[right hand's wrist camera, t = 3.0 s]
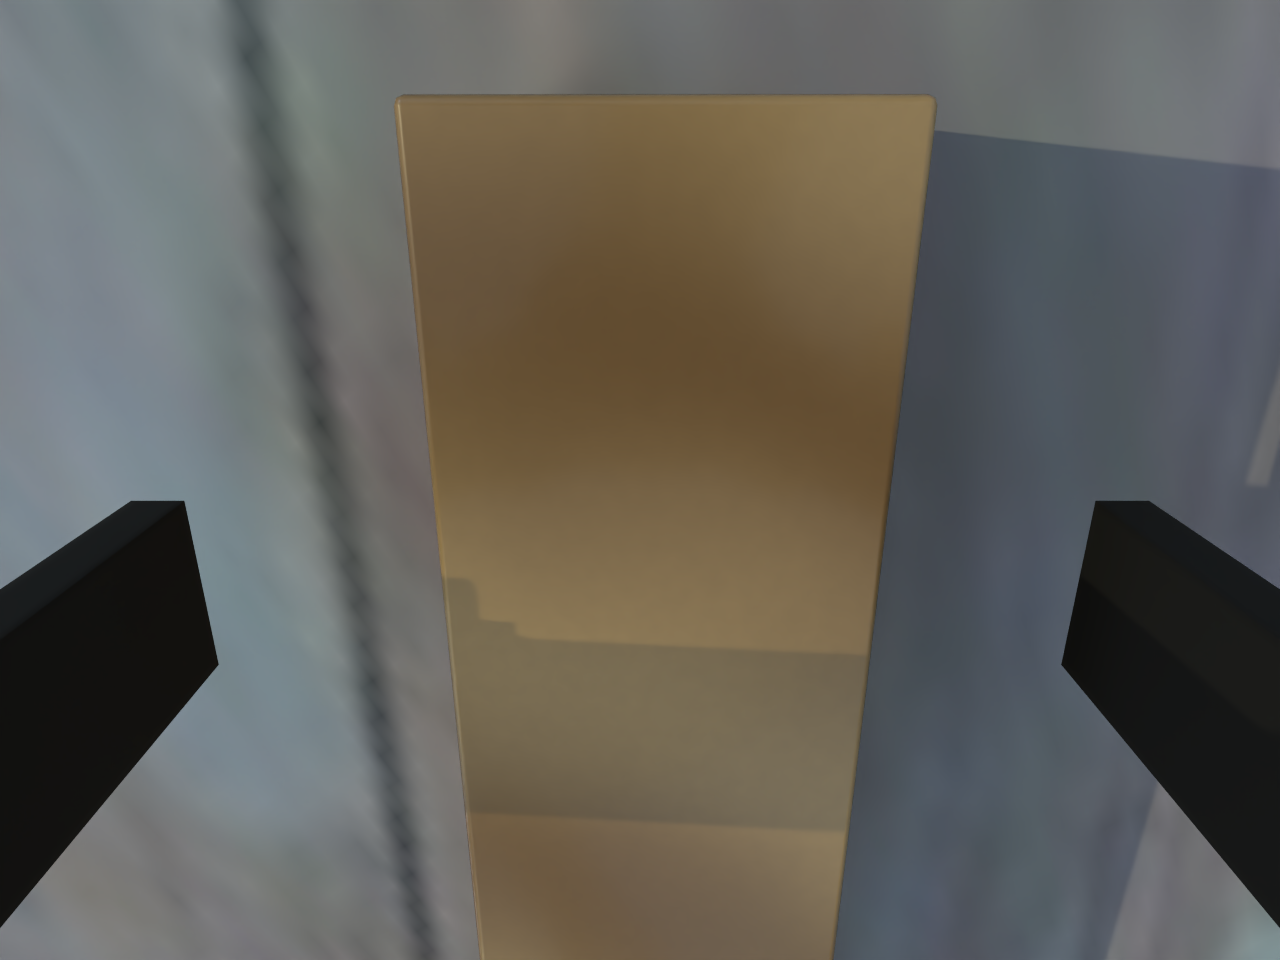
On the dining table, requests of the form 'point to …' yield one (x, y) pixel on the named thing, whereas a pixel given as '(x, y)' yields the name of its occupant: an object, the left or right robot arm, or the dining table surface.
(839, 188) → the bar
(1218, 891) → the dining table surface
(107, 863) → the dining table surface
